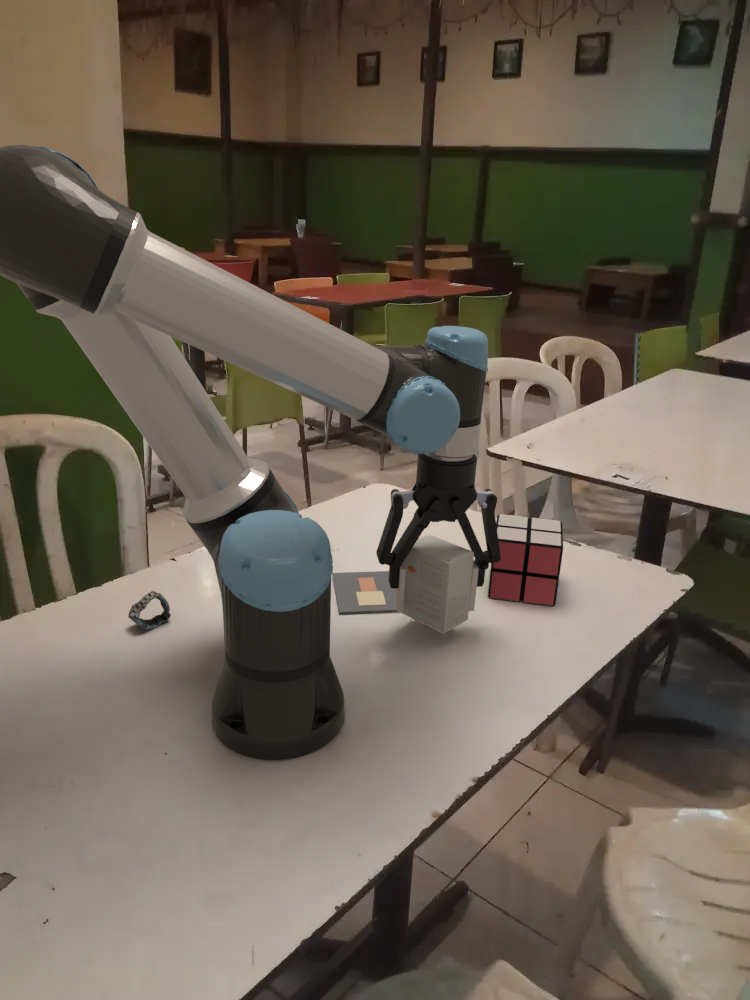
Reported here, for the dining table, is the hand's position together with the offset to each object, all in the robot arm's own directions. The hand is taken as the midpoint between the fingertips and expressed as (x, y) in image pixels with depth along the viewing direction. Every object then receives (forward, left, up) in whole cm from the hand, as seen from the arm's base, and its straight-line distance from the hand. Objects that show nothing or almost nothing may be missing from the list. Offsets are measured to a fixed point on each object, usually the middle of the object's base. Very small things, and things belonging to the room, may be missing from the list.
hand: (434, 606), depth 108 cm
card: (-8, +11, -4) cm, 14 cm away
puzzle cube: (+16, +11, -4) cm, 20 cm away
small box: (0, 0, -2) cm, 2 cm away
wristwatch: (-39, +4, -4) cm, 39 cm away
